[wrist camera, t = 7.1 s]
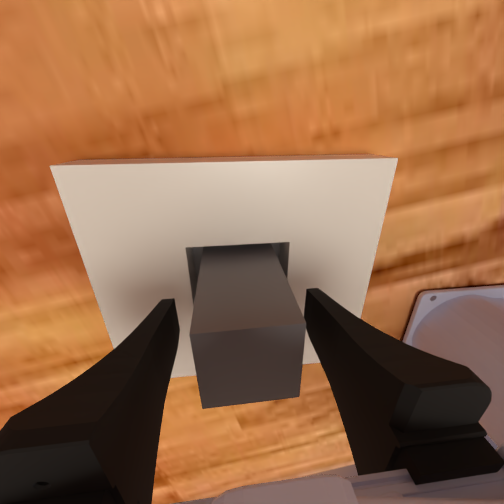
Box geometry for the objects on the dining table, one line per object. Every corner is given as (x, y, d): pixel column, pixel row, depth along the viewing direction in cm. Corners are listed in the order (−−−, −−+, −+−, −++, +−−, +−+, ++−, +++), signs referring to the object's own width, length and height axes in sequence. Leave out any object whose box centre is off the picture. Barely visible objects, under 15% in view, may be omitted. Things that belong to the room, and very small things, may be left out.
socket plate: (370, 153, 14) (398, 158, 12) (336, 334, 21) (350, 359, 18) (79, 159, 13) (49, 165, 11) (137, 353, 19) (125, 382, 17)
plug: (267, 235, 16) (306, 323, 9) (267, 288, 17) (299, 396, 10) (204, 240, 15) (189, 334, 8) (210, 293, 17) (202, 408, 10)
